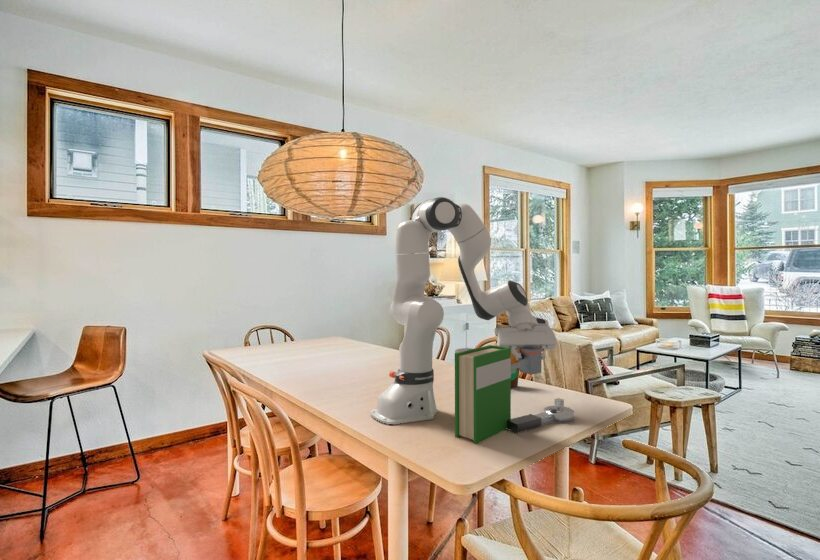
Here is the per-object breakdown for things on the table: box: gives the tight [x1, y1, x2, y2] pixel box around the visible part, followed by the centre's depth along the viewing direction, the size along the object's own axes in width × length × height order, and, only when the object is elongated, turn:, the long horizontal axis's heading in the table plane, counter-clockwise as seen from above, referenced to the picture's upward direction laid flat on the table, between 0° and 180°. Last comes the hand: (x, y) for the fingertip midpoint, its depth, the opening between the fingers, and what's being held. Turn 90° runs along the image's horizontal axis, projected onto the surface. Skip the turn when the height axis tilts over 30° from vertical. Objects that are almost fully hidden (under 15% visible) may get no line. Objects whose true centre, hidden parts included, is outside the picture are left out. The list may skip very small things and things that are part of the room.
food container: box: [511, 361, 520, 389], centre depth 176 cm, size 12×6×10 cm, turn 70°
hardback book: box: [454, 344, 512, 445], centre depth 128 cm, size 18×7×24 cm, turn 136°
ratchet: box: [506, 397, 575, 434], centre depth 135 cm, size 25×9×6 cm, turn 121°
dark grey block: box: [519, 347, 542, 375], centre depth 147 cm, size 5×5×8 cm
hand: (531, 359), depth 147 cm, fingers closed on dark grey block, 7 cm apart
